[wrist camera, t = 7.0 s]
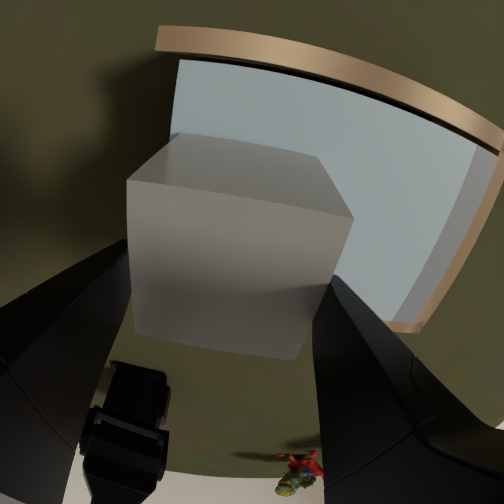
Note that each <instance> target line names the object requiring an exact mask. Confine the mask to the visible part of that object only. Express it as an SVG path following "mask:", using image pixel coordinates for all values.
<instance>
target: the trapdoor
mask: <svg viewBox="0 0 504 504" xmlns="http://www.w3.org/2000/svg"><path fill="white" fill-rule="evenodd" d="M180 133H188V134H196V135H204V136H211V137H217V138H224V139H230V140H236V141H242V142H248V143H254V144H259V145H265V146H270V147H275V148H280V149H285V150H289V151H294V152H299V153H303V154H308V155H312V156H316V157H318V159H319V160H320V162H321V163H322V165H323V167H324V168H325V170H326V171H327V173H328V175H329V176H330V178H331V180H332V181H333V183H334V184H335V186H336V188H337V190H338V191H339V193H340V195H341V196H342V198H343V200H344V201H345V203H346V205H347V207H348V208H349V210H350V212H351V214H352V216H353V217H354V222H353V224H352V227H351V230H350V232H349V235H348V238H347V240H346V243H345V246H344V248H343V251H342V253H341V256H340V258H339V261H338V263H337V266H336V268H335V271H334V273H333V274H334V275H338V276H339V277H340V278H341V279H342V280H343V281H344V282H345V283H346V284H347V285H348V286H349V287H350V288H351V289H352V290H353V291H354V292H355V293H356V294H357V295H358V296H359V297H360V298H361V299H362V300H363V301H364V302H365V303H366V304H367V305H368V306H369V307H370V308H371V309H372V310H373V311H374V312H375V314H376V315H377V316H378V317H379V318H380V319H381V320H385V321H393V322H401V323H409V324H413V323H414V322H415V320H416V319H417V317H418V316H419V314H420V313H421V311H422V310H423V308H424V307H425V305H426V304H427V302H428V300H429V299H430V297H431V296H432V294H433V292H434V291H435V289H436V288H437V286H438V284H439V283H440V281H441V279H442V278H443V276H444V274H445V272H446V271H447V269H448V267H449V265H450V264H451V262H452V260H453V258H454V256H455V254H456V253H457V251H458V249H459V247H460V245H461V243H462V241H463V239H464V237H465V235H466V233H467V231H468V229H469V227H470V225H471V223H472V221H473V219H474V217H475V215H476V212H477V210H478V208H479V206H480V203H481V201H482V199H483V197H484V194H485V192H486V189H487V187H488V185H489V182H490V180H491V177H492V174H493V172H494V169H495V166H496V164H497V161H498V158H499V157H498V156H496V155H494V154H493V153H491V152H489V151H487V150H486V149H484V148H482V147H480V146H478V145H477V144H475V143H473V142H471V141H469V140H467V139H465V138H463V137H462V136H460V135H458V134H456V133H454V132H452V131H450V130H447V129H445V128H443V127H441V126H439V125H437V124H435V123H432V122H430V121H428V120H426V119H423V118H421V117H419V116H416V115H414V114H412V113H409V112H407V111H404V110H402V109H399V108H397V107H394V106H391V105H389V104H386V103H383V102H381V101H378V100H375V99H372V98H369V97H366V96H363V95H360V94H357V93H354V92H351V91H348V90H344V89H341V88H337V87H334V86H330V85H327V84H323V83H319V82H316V81H312V80H308V79H304V78H299V77H295V76H291V75H286V74H281V73H276V72H271V71H266V70H261V69H255V68H249V67H243V66H236V65H229V64H221V63H213V62H203V61H192V60H180V62H179V69H178V75H177V82H176V89H175V97H174V105H173V113H172V121H171V131H170V141H171V140H173V139H174V138H175V137H176V136H178V135H179V134H180ZM170 141H169V142H170Z"/></svg>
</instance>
